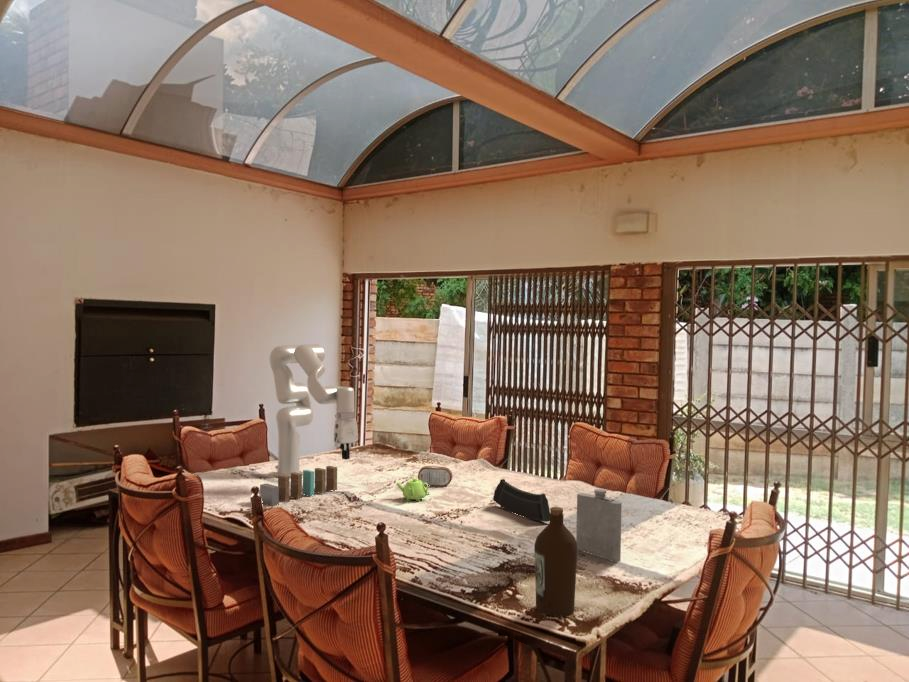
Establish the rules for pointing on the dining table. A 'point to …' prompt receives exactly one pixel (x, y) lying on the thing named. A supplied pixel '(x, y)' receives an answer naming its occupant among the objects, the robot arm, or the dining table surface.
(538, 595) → the olive oil
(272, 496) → the block
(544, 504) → the magazine
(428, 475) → the tin
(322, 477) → the domino
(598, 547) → the hip flask
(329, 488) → the domino
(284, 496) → the domino
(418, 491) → the teapot
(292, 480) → the domino
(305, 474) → the domino
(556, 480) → the dining table surface
